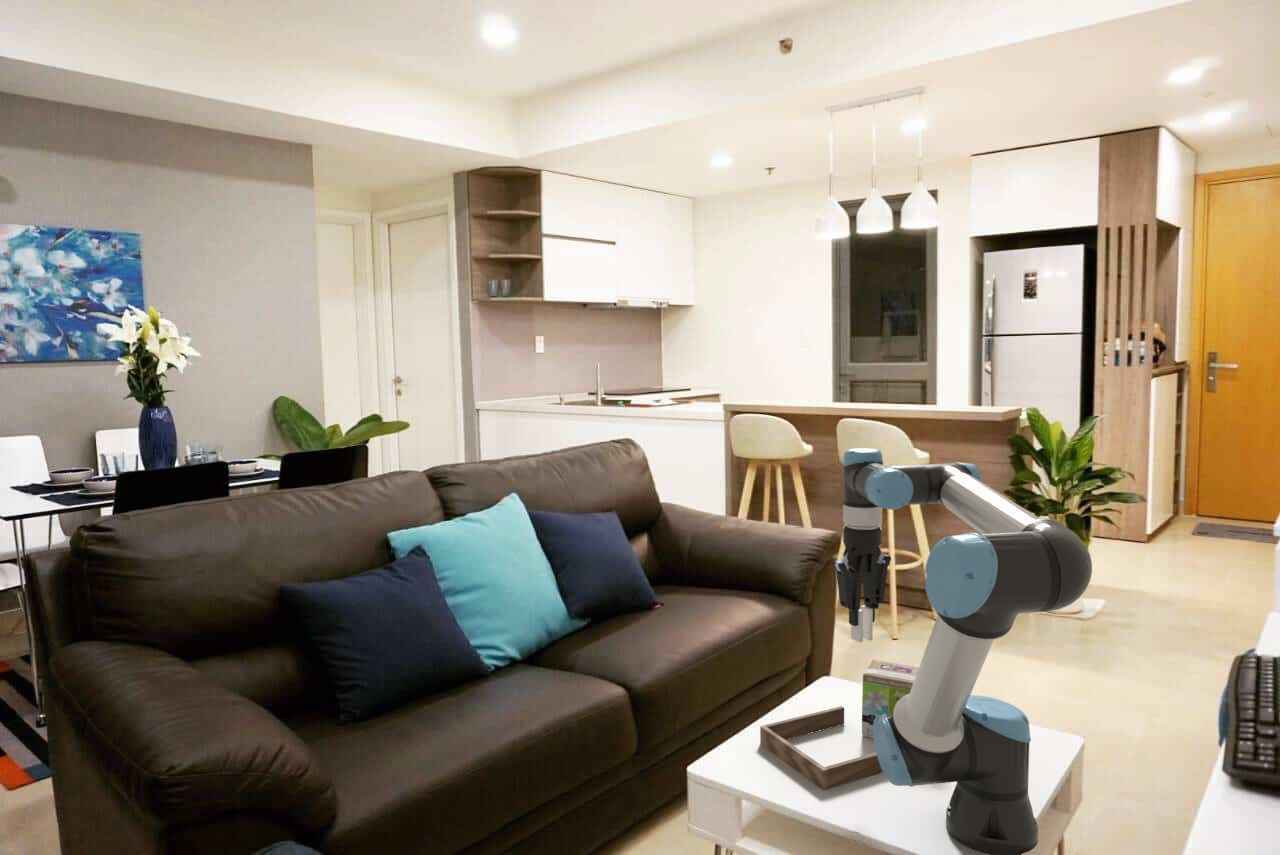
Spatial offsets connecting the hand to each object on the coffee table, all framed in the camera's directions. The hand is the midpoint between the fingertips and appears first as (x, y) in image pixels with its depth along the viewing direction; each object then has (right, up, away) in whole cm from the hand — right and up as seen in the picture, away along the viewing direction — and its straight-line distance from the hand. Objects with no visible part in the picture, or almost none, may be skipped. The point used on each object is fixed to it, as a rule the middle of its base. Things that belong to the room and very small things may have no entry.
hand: (861, 639), depth 175 cm
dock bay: (-4, -26, +7) cm, 27 cm away
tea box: (+12, -25, +15) cm, 32 cm away
